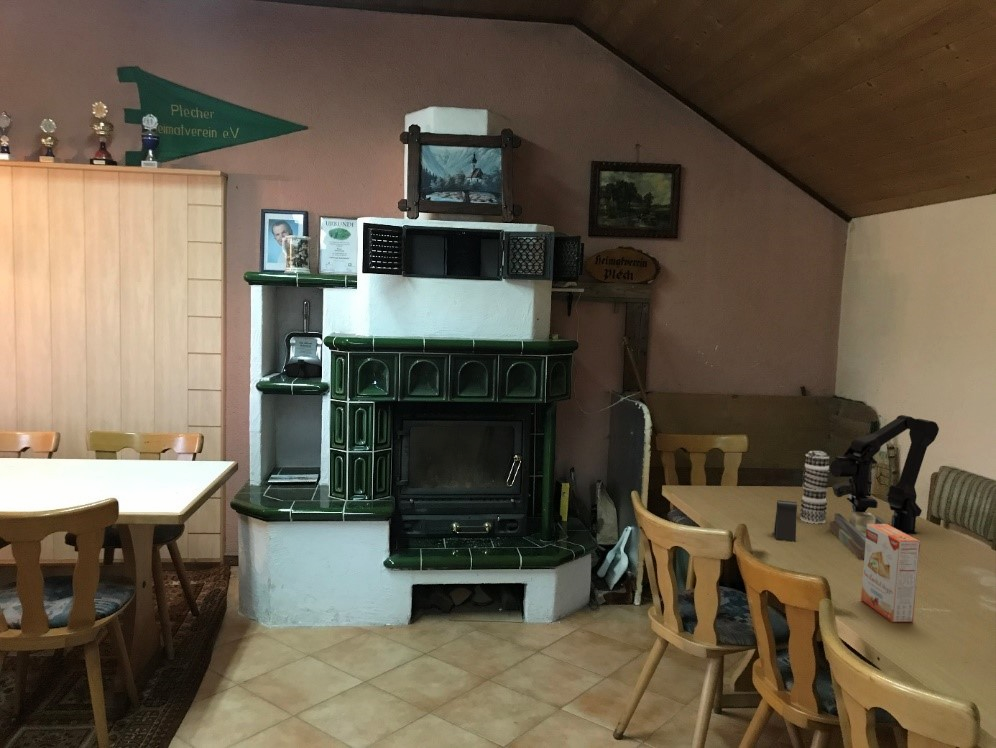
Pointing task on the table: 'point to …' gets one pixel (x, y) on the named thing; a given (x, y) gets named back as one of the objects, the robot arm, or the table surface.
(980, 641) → the table surface
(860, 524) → the cream block
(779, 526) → the phone stand
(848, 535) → the channel board
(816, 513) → the decorative candle
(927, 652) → the table surface
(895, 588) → the cracker box
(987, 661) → the table surface
